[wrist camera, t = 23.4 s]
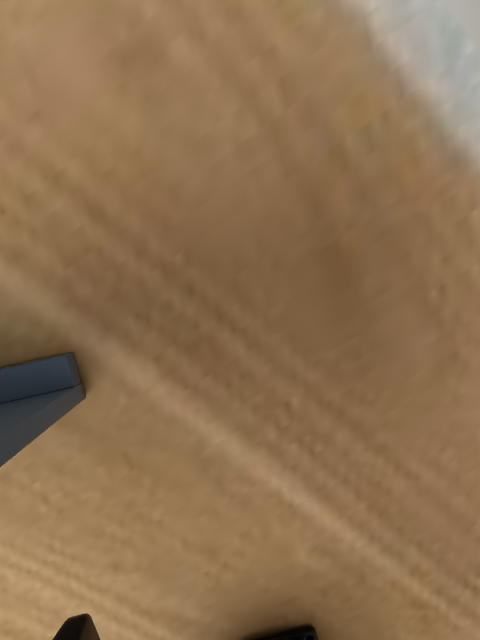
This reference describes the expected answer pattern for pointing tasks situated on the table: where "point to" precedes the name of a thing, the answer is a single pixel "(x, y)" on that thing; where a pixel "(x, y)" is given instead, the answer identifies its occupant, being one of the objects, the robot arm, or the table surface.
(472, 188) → the table surface
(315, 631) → the robot arm
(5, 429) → the board
